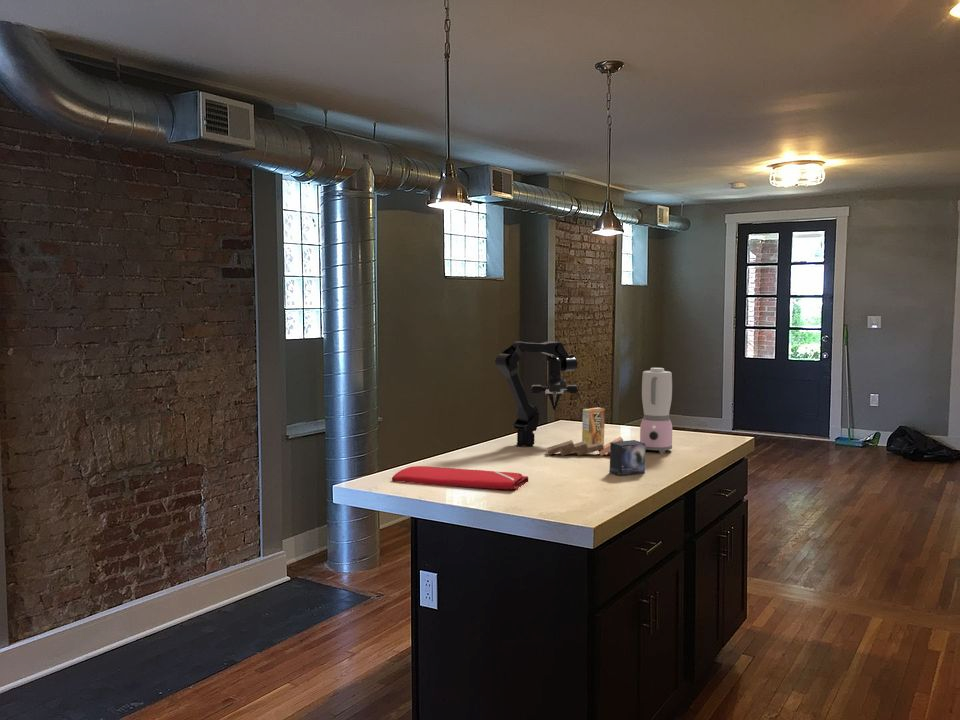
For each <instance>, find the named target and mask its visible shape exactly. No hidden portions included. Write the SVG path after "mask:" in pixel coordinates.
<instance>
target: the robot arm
mask: <svg viewBox="0 0 960 720" xmlns="http://www.w3.org/2000/svg"><path fill="white" fill-rule="evenodd" d="M524 352H526V353H527V352H529V353H531V352H532V353H542V354H544V355H546V357H544V358H543V359H542V360H543V361H542V362H547V368H546V369H547V373H546V375H547V383H546V384H547V386H542V384H532V385H531V393H532V394H540V393H541V392H544V393H545V396H548V398H549V400H550V404H551V407H552V410H553V411H556V409H557V405H558V403H559V400H560V398H561V396H564V395H565V394H564V393H565V392H568V393H569V394H578V393H579V392H578V390H579V389H578V386H577V385H576V384H567V382H566V379H562V372H572V371H575V370H577V368H578V361H577V359H576V358H575V355H574V354H568V352H567V350H566V348H565V347H564V344H563V342H561V341H553V340H552V341H551V340H550V341H544V342H540V343H538V342H524V341H516V340H515V341H514V342H513V343H511V345H510V346H508V347H507V348H505V349H503V350H502V352H500V353H499V354H497V356H496V357H495V360H494V361H495V362H494V363H495V366H496V368H498V370H499V372H500V373H501V374H502V375H503V376H504V377H505V378H506V380H507V384H508V386H509V389H510V391H511V394H512V397H513V398H514V401H515V404H516V407H517V413H516V415H517V419H516V420H515V421H514V422H513V424H512V425H513V426H512V427H513V429H514V430H516V431H517V435H516V438H517V439H516V440H517V442H516V446H517V447H534V445H535V432H536V431H537V429H538V425H539V423H540V420H541V419H540V415H541V413H540V412H539V410H538V407H537V406H536V405H532V404H530V401H529V398H528V396H527V394H526V391H525V388H524V385H523V383H522V381H521V379H520V376H519V373H518V372H519V371H518V370H519V363H518V362H519V361H520V360H521V358H522V356H523V353H524ZM566 384H567V386H566ZM553 392H555V398H554V393H553Z"/></svg>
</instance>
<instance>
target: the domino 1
mask: <svg viewBox="0 0 960 720" xmlns="http://www.w3.org/2000/svg"><path fill="white" fill-rule="evenodd" d="M574 444H575V443H574V441H573V439H571V440H568V441H564V442H560V443H559V444H555V445H552V446H547V447H546V449H547V454H548V456H550V455H554V454H557V453H559V452H560V453H561V451H564V450H567V449H570V448H574Z"/></svg>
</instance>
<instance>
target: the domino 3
mask: <svg viewBox="0 0 960 720" xmlns="http://www.w3.org/2000/svg"><path fill="white" fill-rule="evenodd" d="M602 449H604V447H603V444H602V442H599V443H595V444H591V445H588V446H587V448H586V449H583V450H580V451H577V452H576V454H577V456H578V457H579V456H583V455H586V454H590V453H594V452H597V451H598V450H602ZM598 452H599V451H598Z"/></svg>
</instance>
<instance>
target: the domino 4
mask: <svg viewBox="0 0 960 720" xmlns="http://www.w3.org/2000/svg"><path fill="white" fill-rule="evenodd" d="M618 441H624V439H623V437H622V436H619V437H617V438H615V439H614V440H612V441H611V442H618ZM603 447H604V449H602V450H598V453H599V455H600V456H601V457H602V456H604V455H606V454H608V452H609V451H610V442H608V443H607V444H604V446H603Z"/></svg>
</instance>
